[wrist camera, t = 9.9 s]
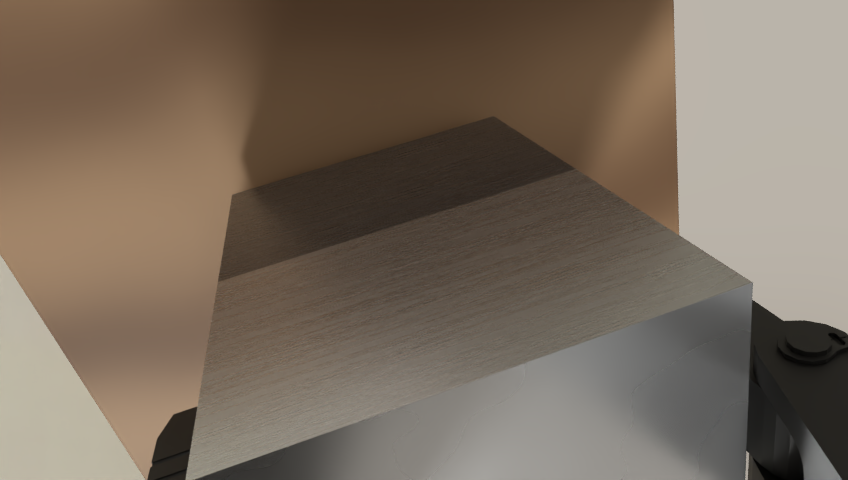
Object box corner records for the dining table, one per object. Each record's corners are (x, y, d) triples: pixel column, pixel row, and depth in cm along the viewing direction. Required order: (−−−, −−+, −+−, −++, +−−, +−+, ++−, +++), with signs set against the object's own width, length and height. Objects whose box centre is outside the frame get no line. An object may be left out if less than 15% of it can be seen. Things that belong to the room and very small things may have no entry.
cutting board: (-115, -52, 12) (-201, -57, 10) (603, -218, 14) (667, -254, 12) (220, 519, 20) (214, 587, 18) (641, 367, 22) (682, 411, 20)
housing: (231, 194, 13) (185, 483, 5) (493, 116, 13) (753, 282, 6) (317, 401, 15) (359, 771, 8) (530, 327, 16) (740, 611, 9)
